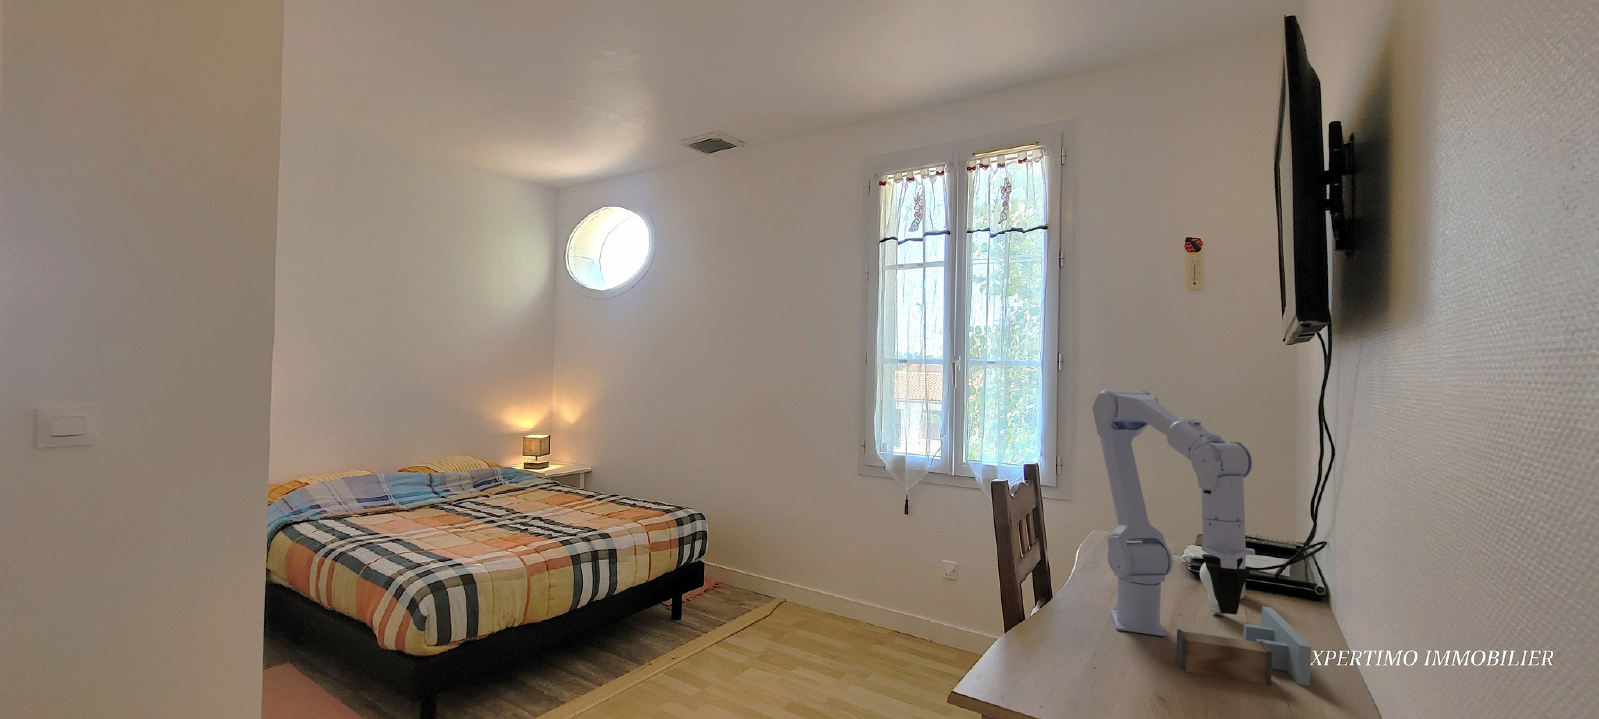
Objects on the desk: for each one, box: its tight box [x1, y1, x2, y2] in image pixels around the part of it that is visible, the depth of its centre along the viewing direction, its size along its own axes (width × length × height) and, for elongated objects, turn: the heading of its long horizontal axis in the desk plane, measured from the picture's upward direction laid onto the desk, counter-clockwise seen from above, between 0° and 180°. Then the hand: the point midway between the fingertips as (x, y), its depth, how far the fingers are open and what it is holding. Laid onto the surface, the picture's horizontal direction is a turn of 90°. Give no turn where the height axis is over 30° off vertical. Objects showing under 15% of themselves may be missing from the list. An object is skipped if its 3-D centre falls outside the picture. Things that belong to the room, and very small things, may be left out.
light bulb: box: [1199, 562, 1226, 616], centre depth 134 cm, size 7×7×11 cm
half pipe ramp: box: [1175, 628, 1273, 686], centre depth 108 cm, size 12×4×5 cm, turn 71°
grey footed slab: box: [1242, 605, 1312, 687], centre depth 114 cm, size 18×6×6 cm, turn 161°
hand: (1226, 607), depth 107 cm, fingers open, 7 cm apart
